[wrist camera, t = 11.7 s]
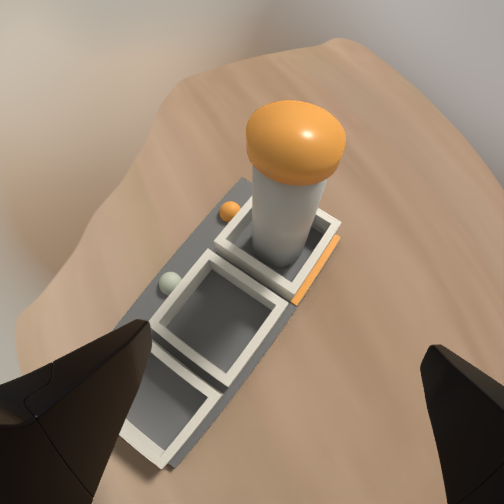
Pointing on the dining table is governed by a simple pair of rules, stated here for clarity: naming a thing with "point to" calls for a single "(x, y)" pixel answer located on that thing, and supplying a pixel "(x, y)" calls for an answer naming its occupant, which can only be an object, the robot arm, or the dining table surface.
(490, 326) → the dining table surface
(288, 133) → the plug
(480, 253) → the dining table surface
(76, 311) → the dining table surface
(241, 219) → the grey compartment tray
